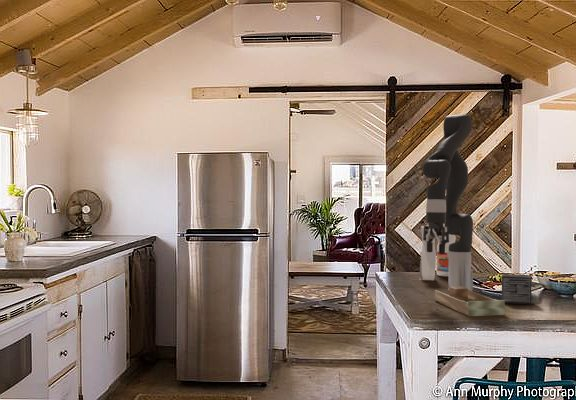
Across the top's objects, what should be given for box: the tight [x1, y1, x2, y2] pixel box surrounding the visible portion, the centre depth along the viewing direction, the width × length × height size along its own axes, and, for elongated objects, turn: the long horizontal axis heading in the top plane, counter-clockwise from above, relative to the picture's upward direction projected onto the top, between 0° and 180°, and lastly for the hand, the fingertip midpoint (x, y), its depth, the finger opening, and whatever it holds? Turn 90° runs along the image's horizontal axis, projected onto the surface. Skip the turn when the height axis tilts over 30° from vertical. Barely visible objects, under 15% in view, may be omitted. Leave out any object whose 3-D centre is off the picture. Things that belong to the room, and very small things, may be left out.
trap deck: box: [434, 289, 506, 317], centre depth 209 cm, size 13×28×5 cm, turn 10°
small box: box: [501, 274, 533, 305], centre depth 218 cm, size 11×6×10 cm, turn 71°
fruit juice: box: [436, 224, 457, 278], centre depth 284 cm, size 9×9×28 cm
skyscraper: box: [418, 224, 437, 281], centre depth 272 cm, size 8×8×28 cm
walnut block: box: [448, 286, 468, 302], centre depth 211 cm, size 5×5×5 cm
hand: (435, 253), depth 218 cm, fingers open, 8 cm apart
